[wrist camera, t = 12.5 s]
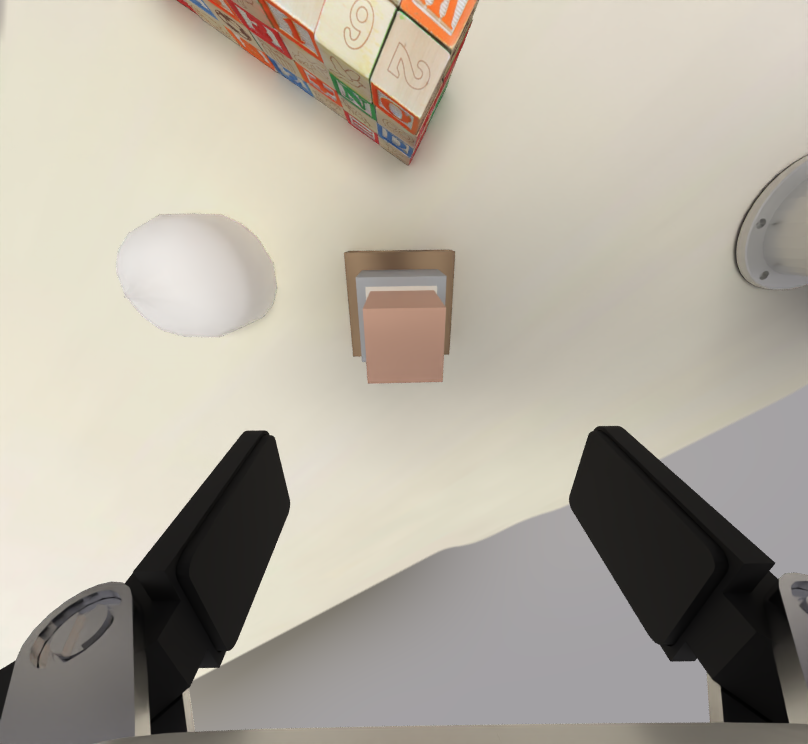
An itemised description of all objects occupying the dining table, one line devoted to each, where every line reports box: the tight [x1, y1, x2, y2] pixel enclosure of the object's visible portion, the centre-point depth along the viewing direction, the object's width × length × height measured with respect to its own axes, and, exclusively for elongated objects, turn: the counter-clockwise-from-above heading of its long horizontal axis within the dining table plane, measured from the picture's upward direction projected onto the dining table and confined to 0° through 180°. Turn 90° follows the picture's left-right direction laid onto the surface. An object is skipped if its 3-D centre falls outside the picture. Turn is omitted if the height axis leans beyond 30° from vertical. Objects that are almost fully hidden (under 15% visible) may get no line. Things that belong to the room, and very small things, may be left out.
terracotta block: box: [363, 290, 446, 383], centre depth 22 cm, size 5×5×6 cm
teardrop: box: [116, 213, 277, 337], centre depth 25 cm, size 11×11×12 cm
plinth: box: [344, 250, 455, 356], centre depth 30 cm, size 10×10×3 cm
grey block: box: [356, 269, 447, 362], centre depth 27 cm, size 7×7×5 cm
